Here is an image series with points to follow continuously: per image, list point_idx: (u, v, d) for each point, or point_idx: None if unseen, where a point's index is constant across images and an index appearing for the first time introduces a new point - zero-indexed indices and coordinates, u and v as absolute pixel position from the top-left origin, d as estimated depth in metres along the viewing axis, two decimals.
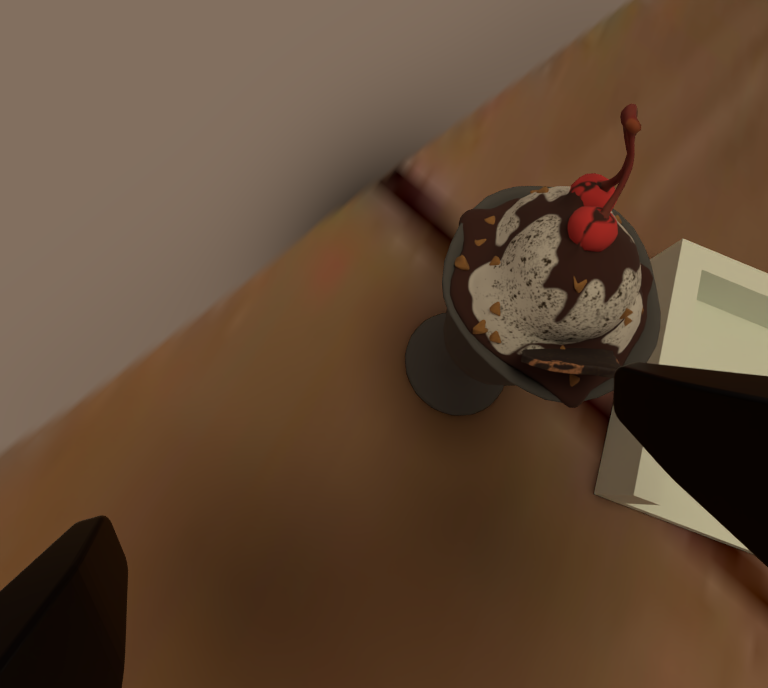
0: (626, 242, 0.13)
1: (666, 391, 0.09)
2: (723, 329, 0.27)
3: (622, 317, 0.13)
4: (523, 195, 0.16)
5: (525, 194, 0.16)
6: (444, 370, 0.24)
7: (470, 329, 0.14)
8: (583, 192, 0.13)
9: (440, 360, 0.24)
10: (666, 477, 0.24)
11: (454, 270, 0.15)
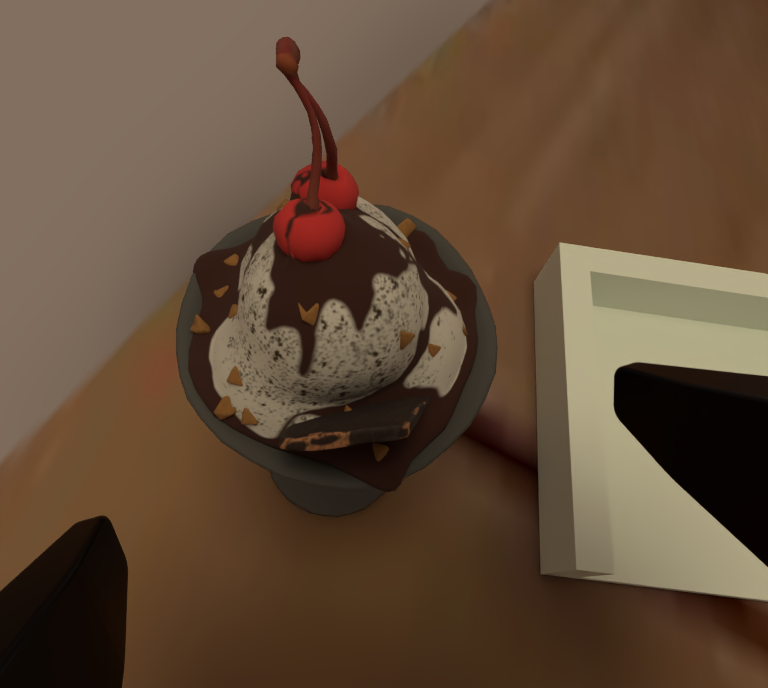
0: (370, 238, 0.09)
1: (666, 391, 0.09)
2: (642, 332, 0.23)
3: (402, 345, 0.09)
4: None
5: None
6: None
7: (214, 414, 0.10)
8: (300, 187, 0.09)
9: None
10: (623, 528, 0.19)
11: (190, 337, 0.11)
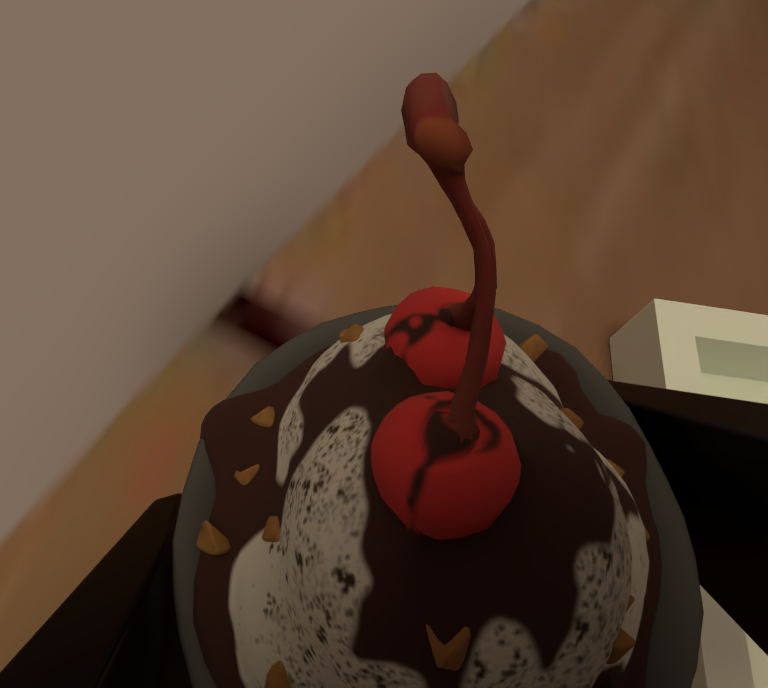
0: (557, 466, 0.04)
1: None
2: None
3: (610, 662, 0.05)
4: None
5: None
6: None
7: None
8: (408, 346, 0.05)
9: None
10: None
11: (196, 559, 0.06)
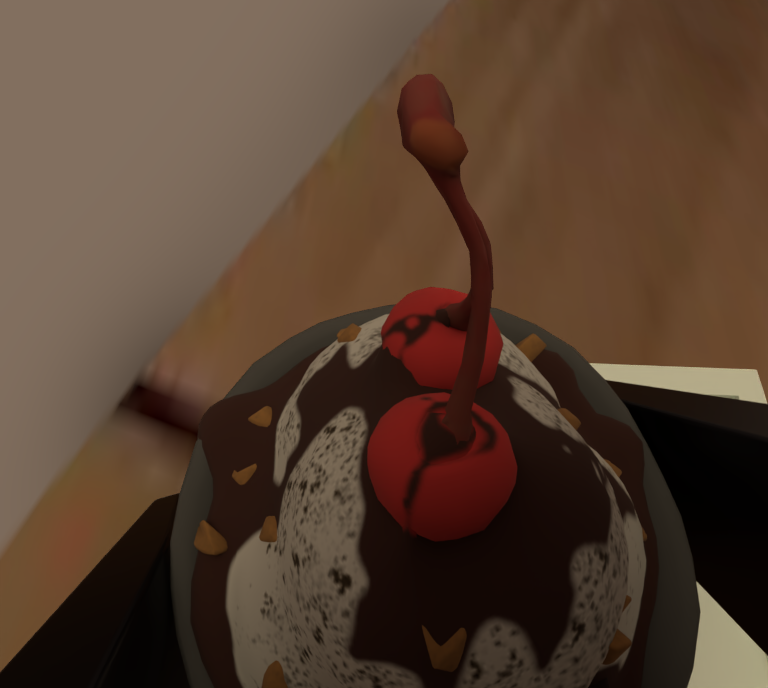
0: (553, 467, 0.04)
1: None
2: None
3: (606, 662, 0.05)
4: None
5: None
6: None
7: None
8: (405, 347, 0.05)
9: None
10: None
11: (194, 559, 0.06)
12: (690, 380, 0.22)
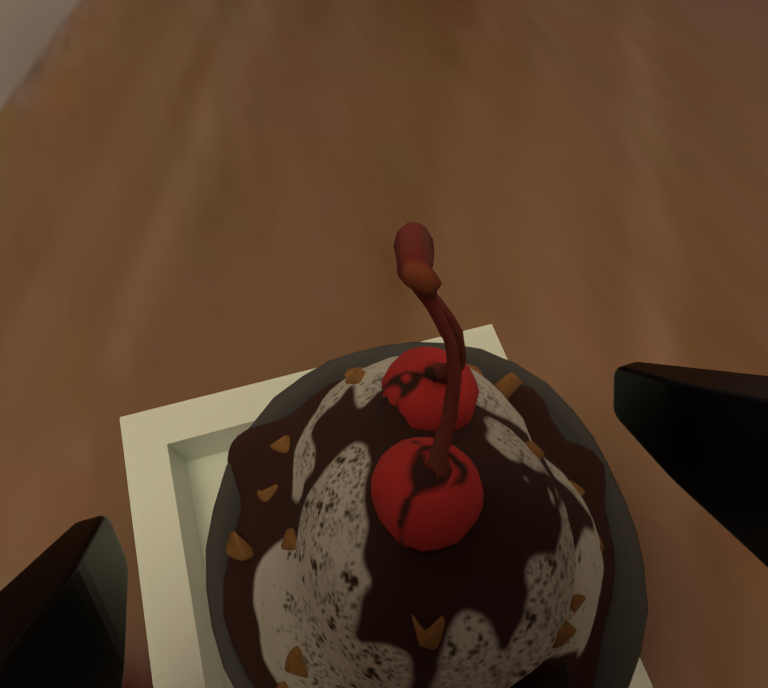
0: (514, 494, 0.06)
1: (666, 391, 0.09)
2: None
3: (556, 646, 0.06)
4: None
5: None
6: None
7: None
8: (401, 398, 0.06)
9: None
10: None
11: (225, 564, 0.08)
12: None
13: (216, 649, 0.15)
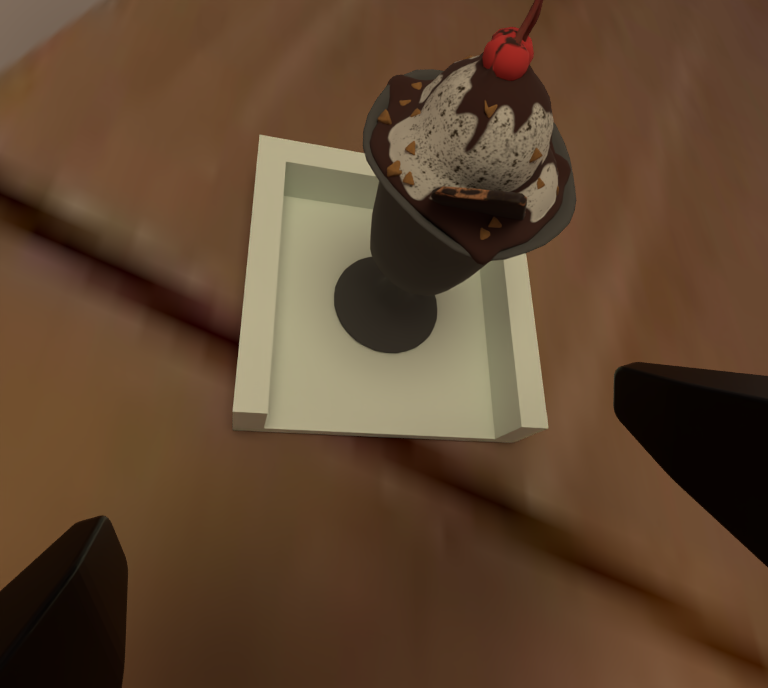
0: (538, 81, 0.13)
1: (666, 391, 0.09)
2: (350, 223, 0.26)
3: (532, 159, 0.13)
4: None
5: None
6: (372, 303, 0.23)
7: (385, 171, 0.14)
8: None
9: (369, 292, 0.23)
10: (309, 387, 0.22)
11: (376, 123, 0.15)
12: None
13: None
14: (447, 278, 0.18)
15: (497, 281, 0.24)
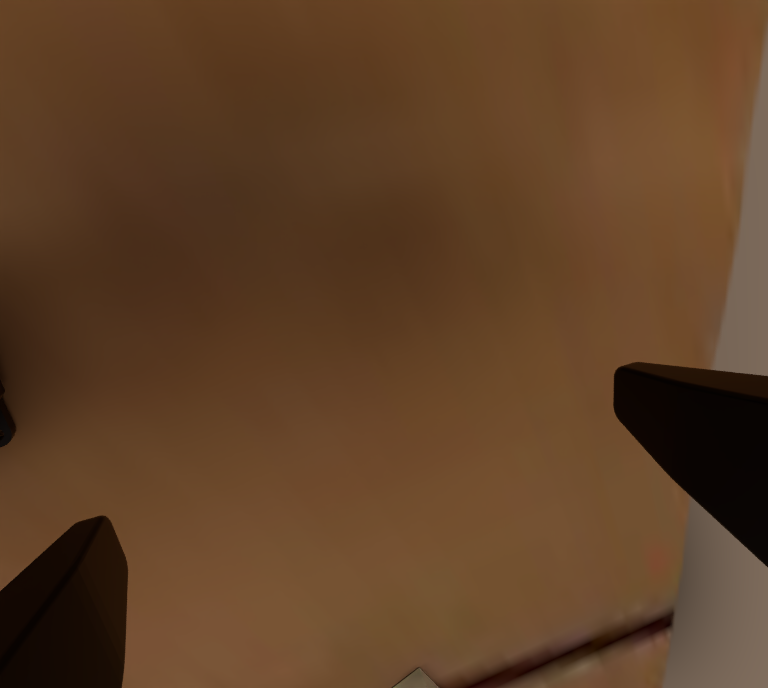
0: None
1: (666, 391, 0.09)
2: None
3: None
4: None
5: None
6: None
7: None
8: None
9: None
10: None
11: None
12: None
13: None
14: None
15: None
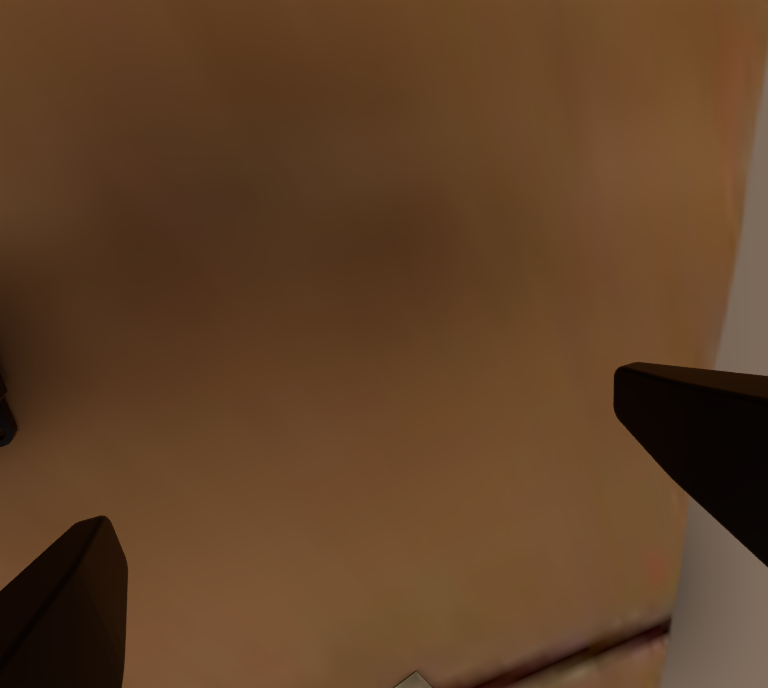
0: None
1: (666, 391, 0.09)
2: None
3: None
4: None
5: None
6: None
7: None
8: None
9: None
10: None
11: None
12: None
13: None
14: None
15: None
